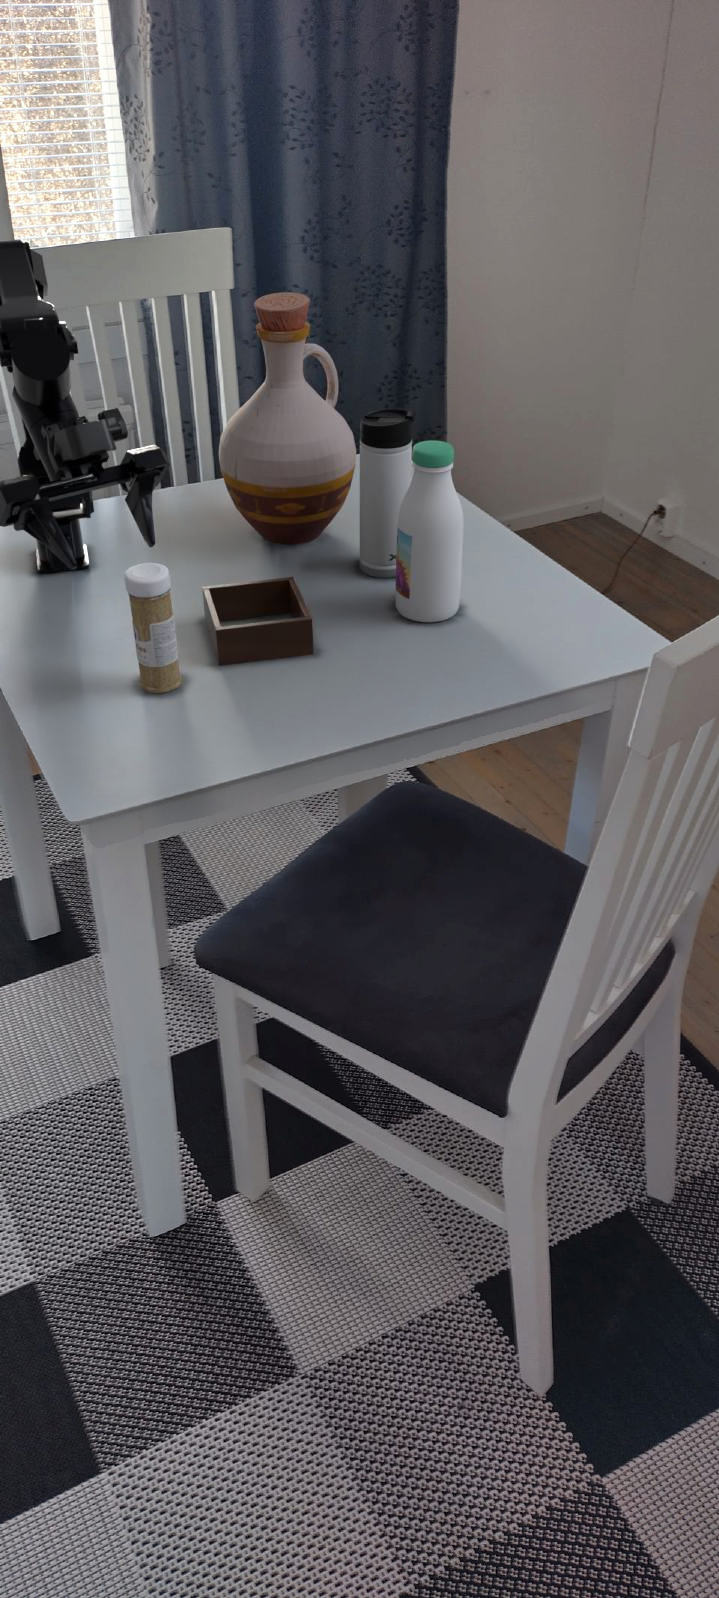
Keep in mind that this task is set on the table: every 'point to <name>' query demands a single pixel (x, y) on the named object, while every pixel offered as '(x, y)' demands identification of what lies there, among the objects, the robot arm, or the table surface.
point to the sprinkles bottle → (153, 626)
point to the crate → (262, 636)
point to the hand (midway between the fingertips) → (114, 556)
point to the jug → (288, 435)
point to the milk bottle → (429, 538)
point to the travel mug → (383, 486)
